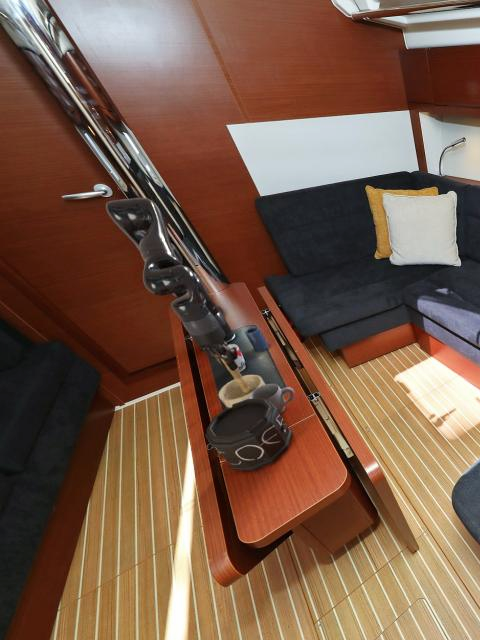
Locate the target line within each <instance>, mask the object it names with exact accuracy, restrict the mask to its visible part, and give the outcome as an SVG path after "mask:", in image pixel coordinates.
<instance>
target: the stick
mask: <svg viewBox="0 0 480 640" xmlns="http://www.w3.org/2000/svg"><path fill="white" fill-rule="evenodd" d="M226 358H227V357H226ZM227 359H228V358H227ZM221 360H222V362H223V363H224V365H225V366H226V367H227V369H228V370H227V369H226V370H227V371H228V372H229V373H230V375H231V376H232V377H233V380H234V379H235V380H236V382H237V383H238V385H239V386H240V387H241V389H242V390H243V392H244V393H245V395H248V394H250V393H251V392H252V390H251V389H250V387H249V386H248V384H247V383H246V381H245V380H244V378H243V377H242V376H243V375H242V374H241V371H240V372H239V371H238V369H236V370H235V371H231V370H230V368H229V367H228V365H227V364H226V362H225V361H224V360H223V359H222V358H221Z"/></svg>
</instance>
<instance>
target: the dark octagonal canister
mask: <svg viewBox="0 0 480 640" xmlns="http://www.w3.org/2000/svg"><path fill="white" fill-rule="evenodd" d="M277 411H278V409H277V408H276V407H275V406H274V405H273V404H272V403H271V402H270V401H267V400H264V399H247V400H244V401H241V402H238V403H235V404H232V407H225V408H224V409H223V410H221V411H219V413H217V414H215V416H213V417H212V419H211V421H210V423H209V425H208V427H207V428H206V430H205V431H206V433H205V438H206V439H207V441H208V442H209V444H210V445H211V447H212V448H216V450H217V451H218V453H219V455H220V456H221V457H222V458H223V459H224V460H225V461H226V462H227V463H228V464H229V466H230V467H231V469H232V470H235V471H258V470H260V469H263V468H264V467H267V466H269V465H271V464H274V463H275V462H276V461H278V460H279V458H281V456H283V455H284V454H285V453H286V452H287V451H288V449H289V446H290V443H291V439H292V435H293V431H292V430H291V429H290V428H289V426H288V424H287V423H286V421H285V420H284V418H283V417H282V416H281V414H278V412H277Z"/></svg>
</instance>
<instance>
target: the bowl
mask: <svg viewBox="0 0 480 640" xmlns="http://www.w3.org/2000/svg"><path fill="white" fill-rule="evenodd" d="M242 377H243V378H244V380H245V381H246V383H247V384H248V386H249V387H250V389H251V390H252V392H253V391H254V390H255V389H257V388H258V387H260V386H263V385H266V384H267V383H265V381H264V379H263V378H262V376H260V375H258V374H245V375H242ZM252 392H251V393H252ZM251 393H250V394H248V395H245V393H244V392H243V390H242V389H241V387H240V386H239V385H238V383H237V382H236V380H235V379H234V378H233V379H232V380H231V381H229V382H227V383H226V384H224V385H223V386H222V387H221V388H220V390H219V391H218V398H219V399H220V401H221V402H222V403H223V405H224V406H225V408H227V407H232V404H235V403H238V402H241V401H244V400H247V399H250V395H251Z"/></svg>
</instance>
